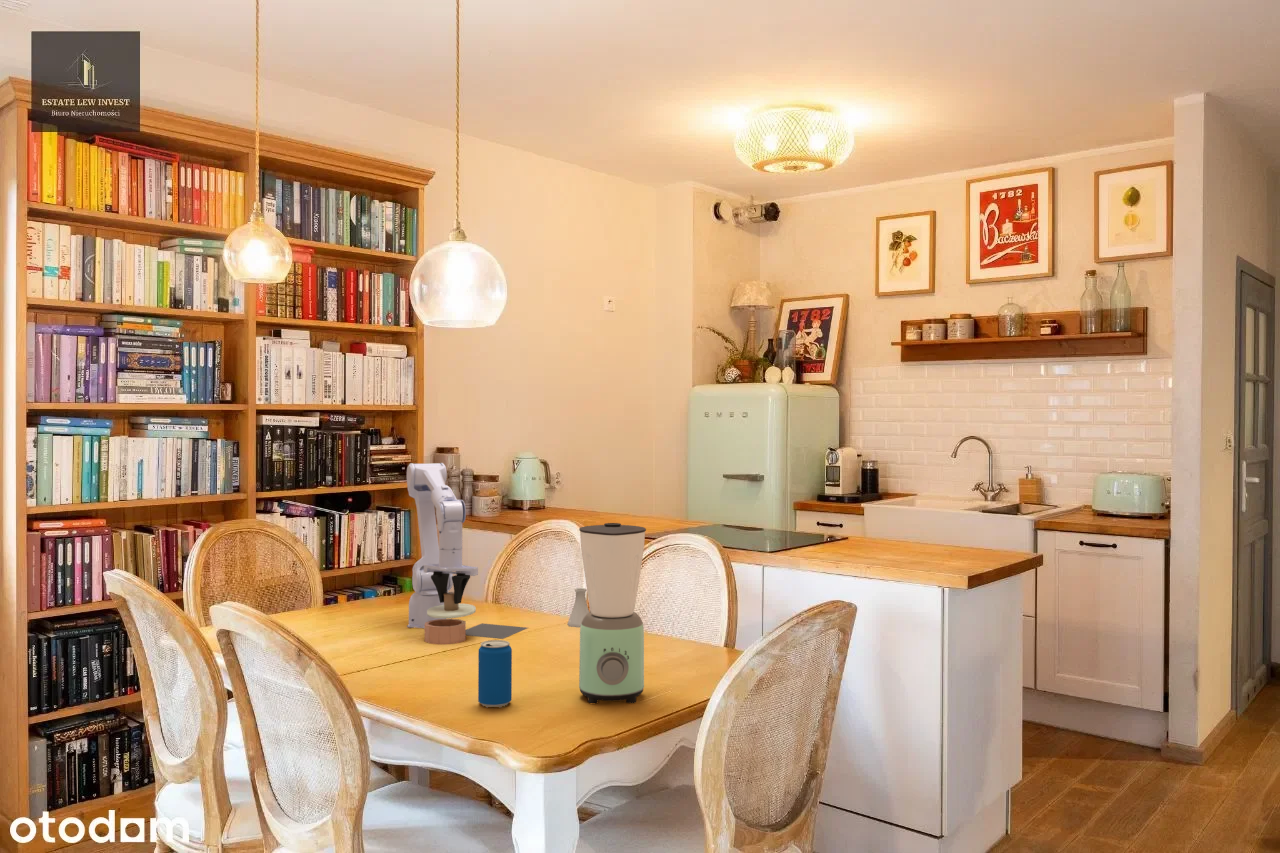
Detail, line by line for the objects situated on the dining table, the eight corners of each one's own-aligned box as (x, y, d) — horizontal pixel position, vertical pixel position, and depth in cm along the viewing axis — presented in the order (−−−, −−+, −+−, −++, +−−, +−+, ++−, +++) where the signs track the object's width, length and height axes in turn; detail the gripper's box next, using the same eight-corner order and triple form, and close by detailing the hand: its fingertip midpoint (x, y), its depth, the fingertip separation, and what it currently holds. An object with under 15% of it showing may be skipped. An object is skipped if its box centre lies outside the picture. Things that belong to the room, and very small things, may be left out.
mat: (454, 635, 255) (454, 634, 255) (481, 624, 268) (481, 623, 268) (502, 640, 250) (502, 638, 250) (528, 629, 263) (528, 627, 263)
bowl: (416, 643, 246) (416, 625, 246) (438, 635, 255) (438, 617, 255) (451, 647, 243) (452, 628, 243) (472, 638, 252) (473, 620, 252)
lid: (417, 616, 247) (416, 597, 247) (444, 605, 258) (444, 586, 258) (458, 619, 242) (457, 600, 242) (484, 608, 254) (484, 589, 253)
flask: (595, 623, 271) (595, 587, 271) (591, 629, 264) (592, 591, 264) (569, 622, 272) (569, 586, 271) (564, 628, 264) (565, 591, 264)
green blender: (648, 708, 193) (649, 528, 193) (578, 709, 192) (580, 528, 192) (640, 682, 212) (641, 518, 212) (577, 683, 211) (578, 518, 211)
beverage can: (479, 699, 198) (479, 639, 198) (512, 699, 199) (512, 639, 199) (476, 709, 192) (477, 647, 192) (510, 708, 192) (511, 646, 192)
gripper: (417, 549, 249) (416, 603, 249) (467, 552, 244) (467, 607, 244) (432, 545, 255) (432, 598, 255) (482, 548, 250) (482, 602, 250)
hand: (450, 602), depth 250 cm, fingers closed on lid, 4 cm apart
